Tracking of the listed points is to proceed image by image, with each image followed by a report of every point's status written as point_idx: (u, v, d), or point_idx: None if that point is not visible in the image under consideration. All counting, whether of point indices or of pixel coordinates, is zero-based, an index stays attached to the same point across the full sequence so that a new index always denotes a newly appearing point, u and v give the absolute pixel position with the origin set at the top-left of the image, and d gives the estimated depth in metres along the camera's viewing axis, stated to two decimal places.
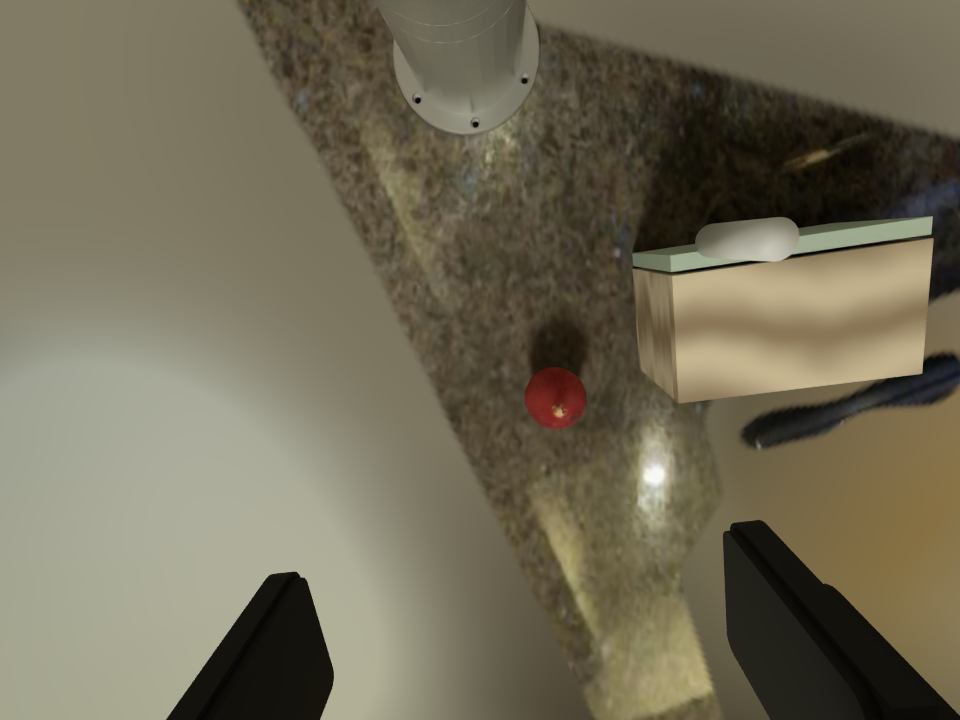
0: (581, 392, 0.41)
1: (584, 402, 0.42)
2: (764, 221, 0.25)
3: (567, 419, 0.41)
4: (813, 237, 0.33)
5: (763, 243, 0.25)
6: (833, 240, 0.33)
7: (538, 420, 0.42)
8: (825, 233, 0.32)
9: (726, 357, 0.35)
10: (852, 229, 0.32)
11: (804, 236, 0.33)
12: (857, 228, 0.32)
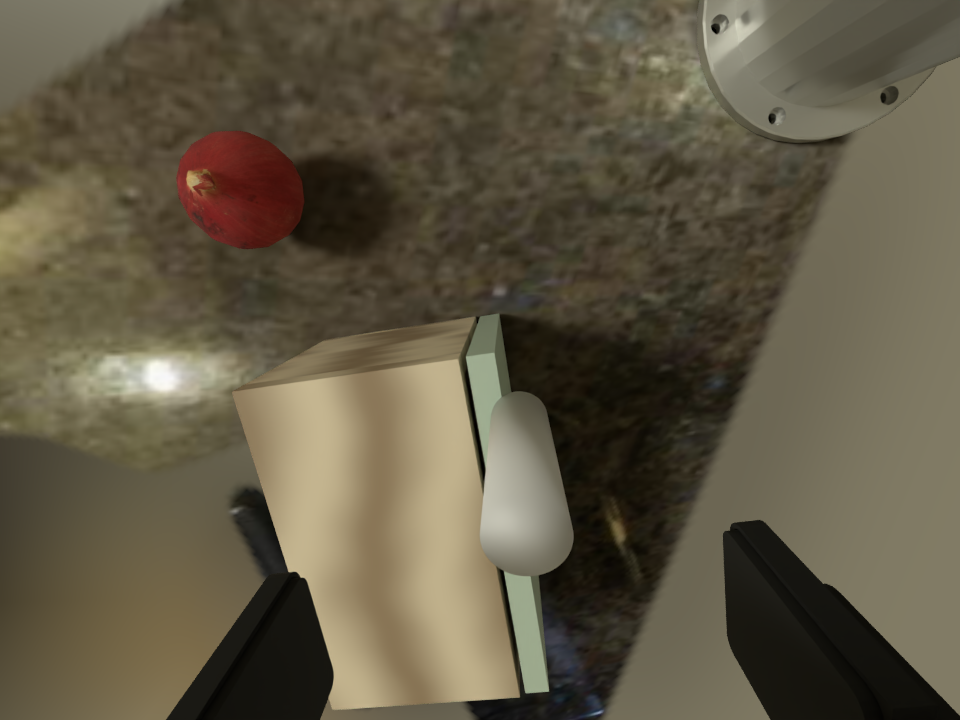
0: (253, 233, 0.23)
1: (237, 241, 0.23)
2: (564, 509, 0.12)
3: (190, 203, 0.21)
4: None
5: (517, 513, 0.11)
6: (518, 584, 0.22)
7: (186, 152, 0.22)
8: None
9: (324, 460, 0.20)
10: (533, 605, 0.22)
11: None
12: (534, 611, 0.22)
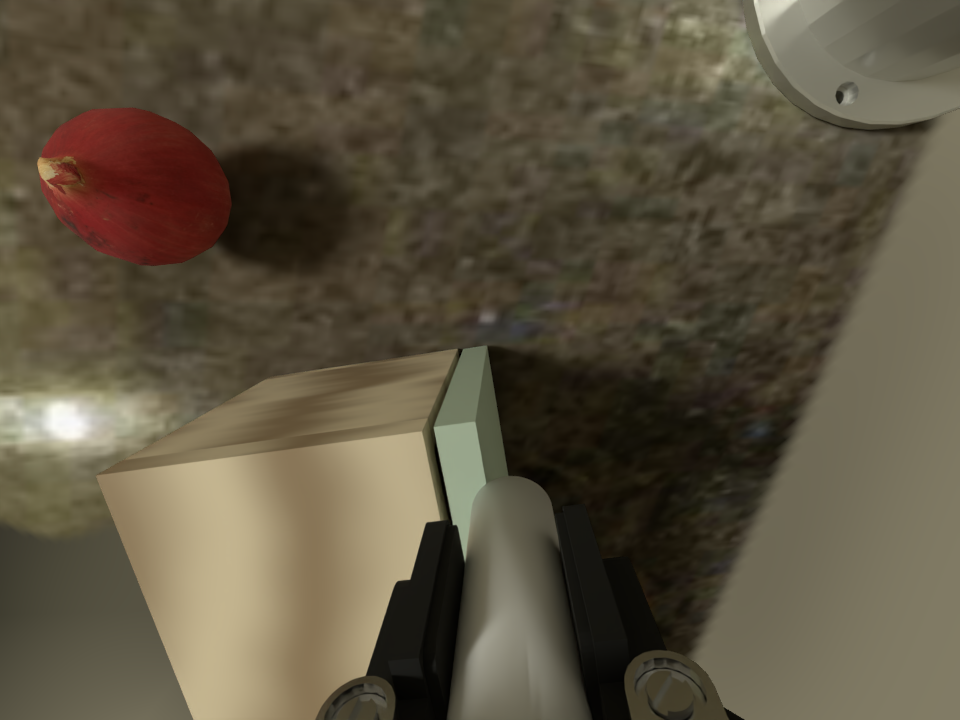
0: (152, 245, 0.17)
1: (133, 256, 0.17)
2: None
3: (54, 205, 0.15)
4: None
5: None
6: None
7: None
8: None
9: (234, 570, 0.14)
10: None
11: None
12: None
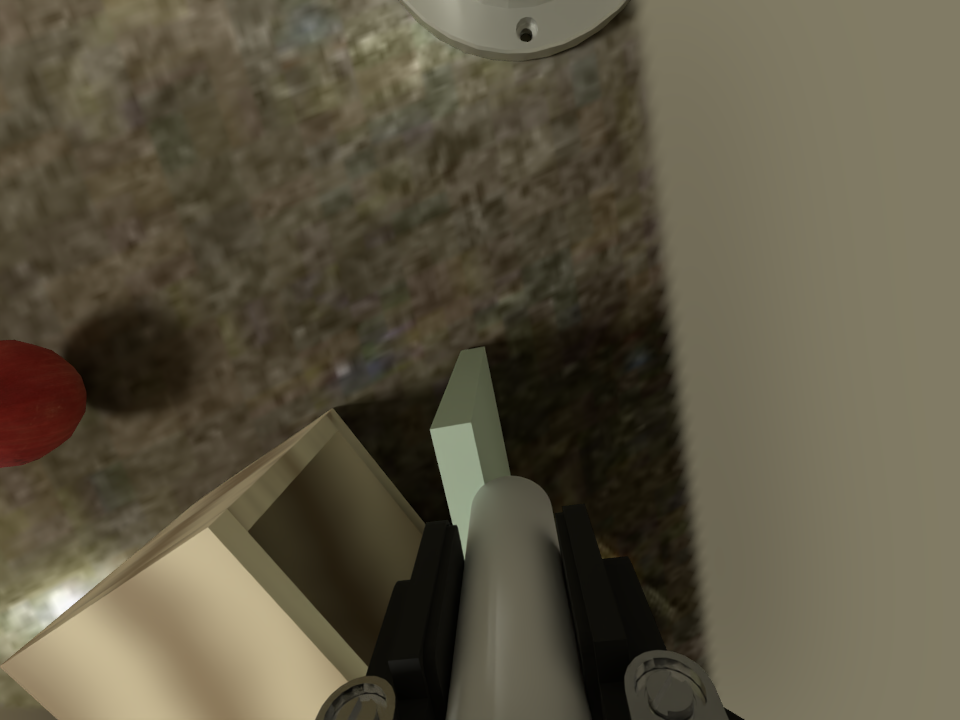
0: (10, 449, 0.19)
1: (5, 462, 0.20)
2: None
3: None
4: None
5: None
6: None
7: None
8: None
9: (140, 700, 0.16)
10: None
11: None
12: None
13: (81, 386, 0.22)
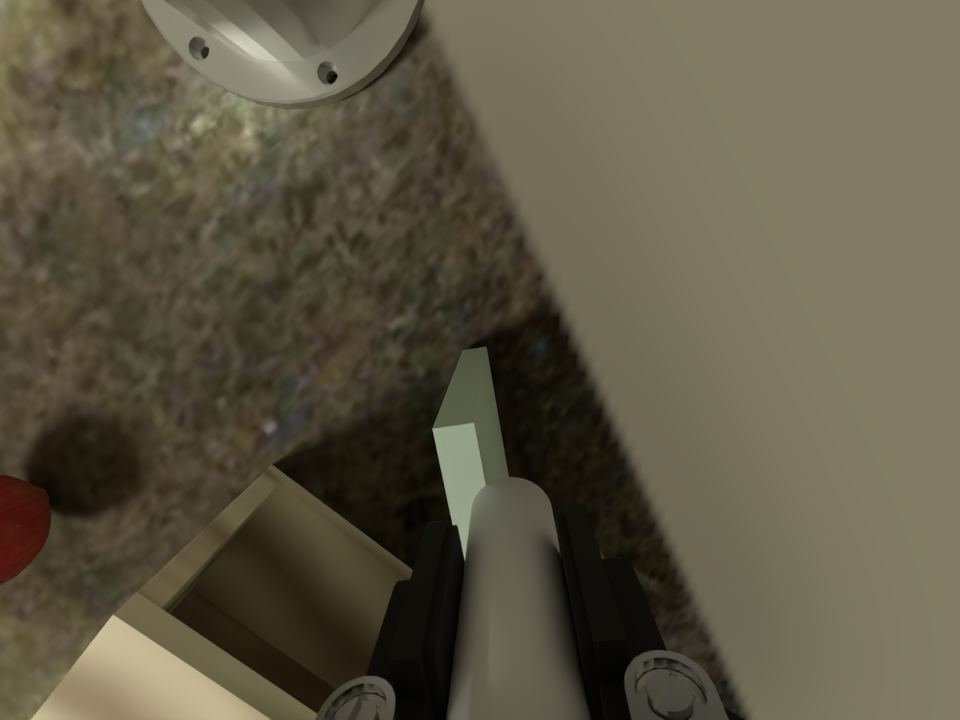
0: None
1: None
2: None
3: None
4: None
5: None
6: None
7: None
8: None
9: None
10: None
11: None
12: None
13: (39, 501, 0.24)
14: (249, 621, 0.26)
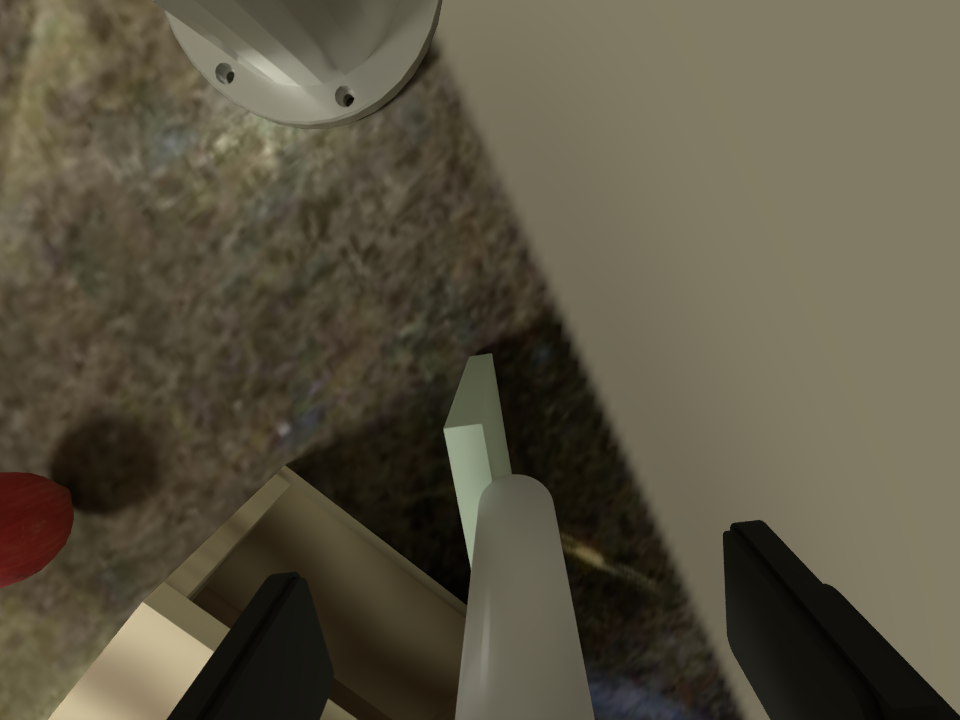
0: (8, 567, 0.22)
1: (8, 580, 0.23)
2: None
3: None
4: None
5: None
6: None
7: None
8: None
9: None
10: None
11: None
12: None
13: (63, 498, 0.25)
14: None
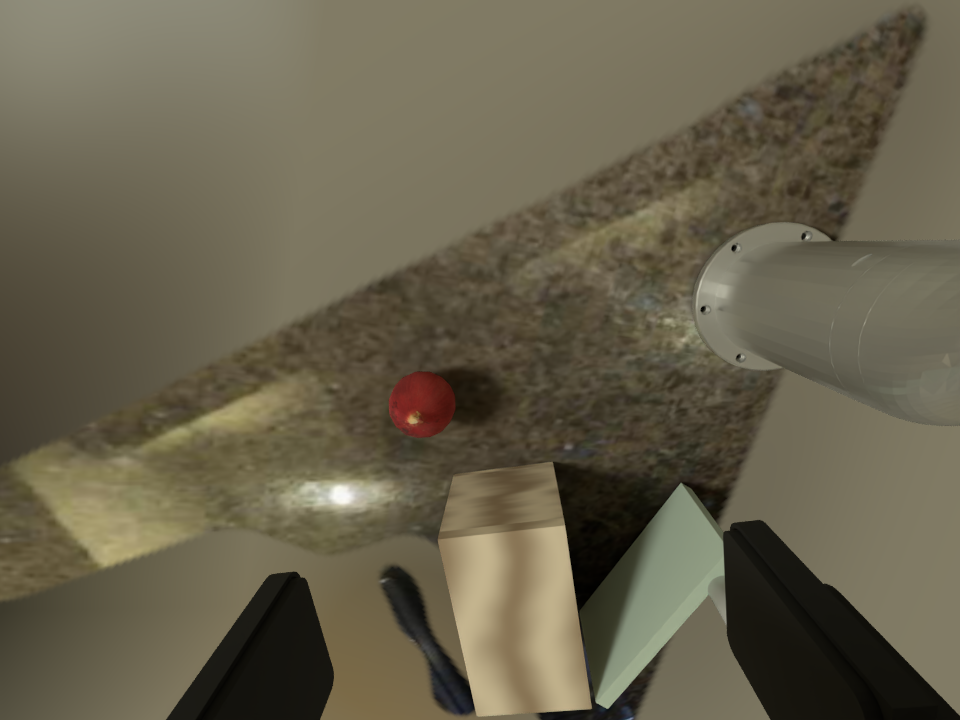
0: (432, 434, 0.39)
1: (421, 437, 0.39)
2: None
3: (404, 425, 0.38)
4: (660, 644, 0.37)
5: None
6: (646, 653, 0.37)
7: (398, 392, 0.38)
8: (656, 652, 0.37)
9: (486, 575, 0.36)
10: (643, 667, 0.38)
11: (666, 640, 0.37)
12: (640, 669, 0.38)
13: None
14: None
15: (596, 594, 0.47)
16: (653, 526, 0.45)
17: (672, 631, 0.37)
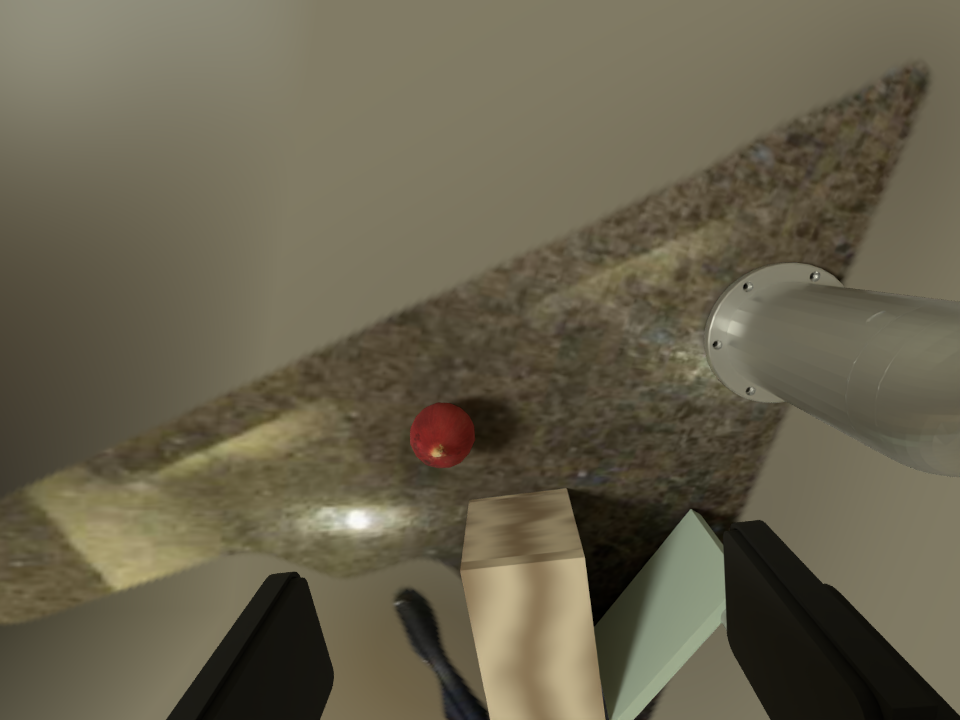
0: (453, 465, 0.40)
1: (442, 467, 0.40)
2: None
3: (426, 458, 0.38)
4: (674, 670, 0.38)
5: None
6: (660, 679, 0.39)
7: (420, 425, 0.39)
8: (670, 677, 0.38)
9: (507, 605, 0.37)
10: (657, 692, 0.39)
11: (680, 666, 0.38)
12: (654, 694, 0.39)
13: None
14: None
15: (607, 616, 0.48)
16: (663, 551, 0.46)
17: (686, 658, 0.38)
